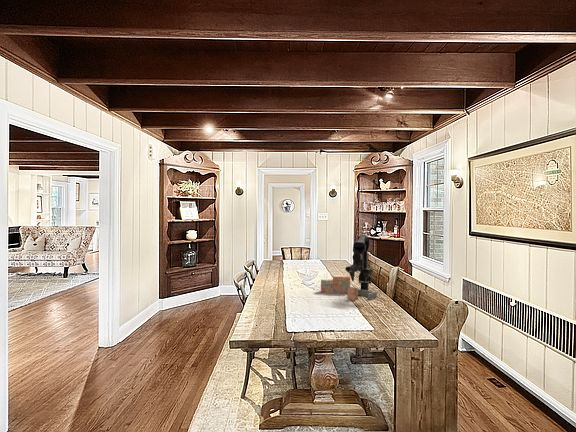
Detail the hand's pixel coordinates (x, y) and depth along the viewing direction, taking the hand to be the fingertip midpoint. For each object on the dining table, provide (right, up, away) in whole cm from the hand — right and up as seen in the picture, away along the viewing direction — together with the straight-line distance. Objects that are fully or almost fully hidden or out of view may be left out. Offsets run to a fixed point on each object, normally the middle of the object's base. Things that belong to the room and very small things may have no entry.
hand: (358, 282), depth 316 cm
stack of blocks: (-14, -11, +23) cm, 29 cm away
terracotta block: (-5, -11, -3) cm, 13 cm away
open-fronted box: (+3, -11, +6) cm, 13 cm away
